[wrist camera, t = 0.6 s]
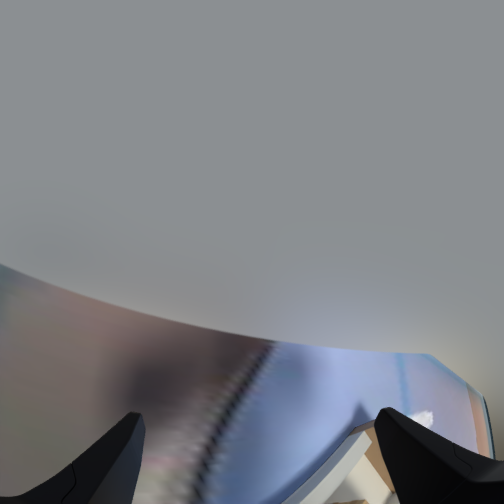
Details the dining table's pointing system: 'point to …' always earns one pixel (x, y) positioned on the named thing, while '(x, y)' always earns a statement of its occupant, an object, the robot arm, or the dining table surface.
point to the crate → (353, 502)
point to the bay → (350, 474)
